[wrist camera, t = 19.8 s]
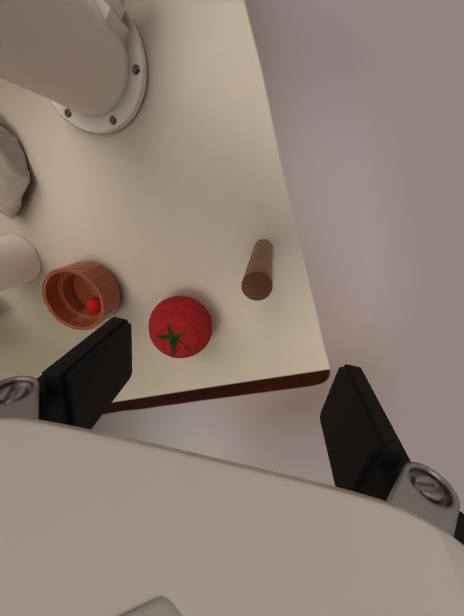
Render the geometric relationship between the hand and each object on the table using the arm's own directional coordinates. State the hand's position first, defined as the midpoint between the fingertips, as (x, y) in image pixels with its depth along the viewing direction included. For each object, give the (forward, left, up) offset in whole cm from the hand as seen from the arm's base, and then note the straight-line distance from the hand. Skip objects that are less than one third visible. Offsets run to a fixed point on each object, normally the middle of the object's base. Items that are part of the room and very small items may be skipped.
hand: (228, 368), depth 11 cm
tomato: (+14, -2, -25) cm, 29 cm away
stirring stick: (-1, 0, -25) cm, 25 cm away
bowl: (+20, -16, -25) cm, 36 cm away
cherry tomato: (+21, -14, -23) cm, 34 cm away
